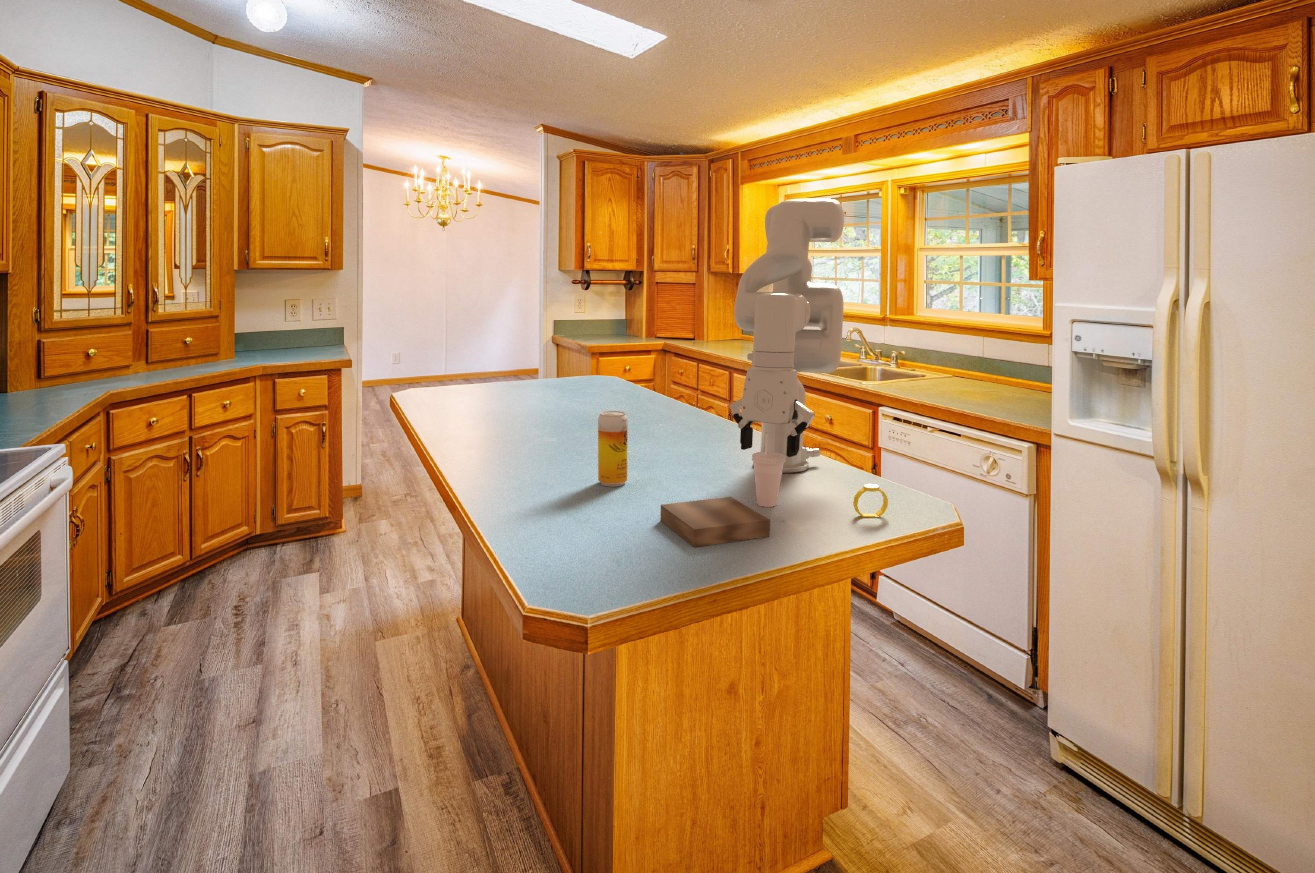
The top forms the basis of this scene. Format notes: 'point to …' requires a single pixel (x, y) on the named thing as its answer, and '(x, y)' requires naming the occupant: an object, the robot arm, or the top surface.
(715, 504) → the walnut base
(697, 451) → the top surface
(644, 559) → the top surface
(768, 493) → the smoothie
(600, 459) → the beer can
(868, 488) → the watch
